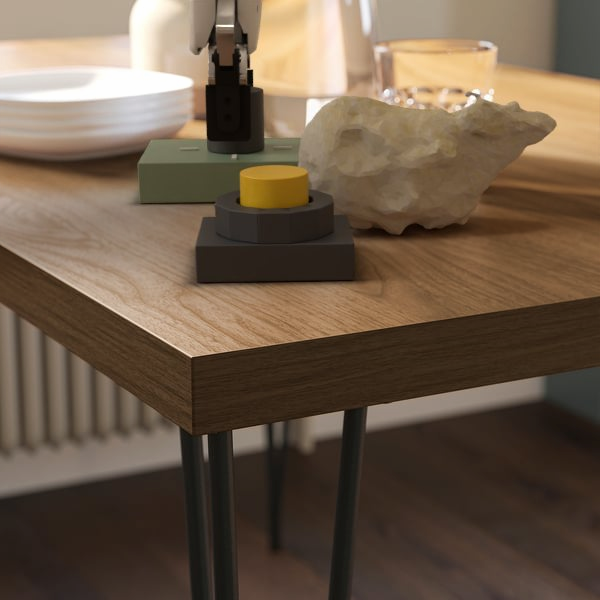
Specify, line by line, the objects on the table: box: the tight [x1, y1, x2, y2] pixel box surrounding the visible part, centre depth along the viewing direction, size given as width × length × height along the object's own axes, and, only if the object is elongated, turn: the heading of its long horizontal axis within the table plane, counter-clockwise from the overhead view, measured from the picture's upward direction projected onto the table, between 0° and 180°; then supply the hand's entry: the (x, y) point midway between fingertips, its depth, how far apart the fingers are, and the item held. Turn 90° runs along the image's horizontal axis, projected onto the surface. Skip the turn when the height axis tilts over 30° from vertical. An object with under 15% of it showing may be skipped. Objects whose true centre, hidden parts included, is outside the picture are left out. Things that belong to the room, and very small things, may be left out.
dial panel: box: [137, 137, 301, 204], centre depth 91 cm, size 14×10×3 cm
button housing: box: [194, 189, 356, 283], centre depth 70 cm, size 9×7×4 cm
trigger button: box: [240, 165, 309, 209], centre depth 69 cm, size 4×4×2 cm
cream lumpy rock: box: [298, 91, 558, 236], centre depth 78 cm, size 15×7×15 cm
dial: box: [204, 86, 265, 154], centre depth 90 cm, size 4×4×5 cm
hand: (231, 129), depth 90 cm, fingers open, 9 cm apart
